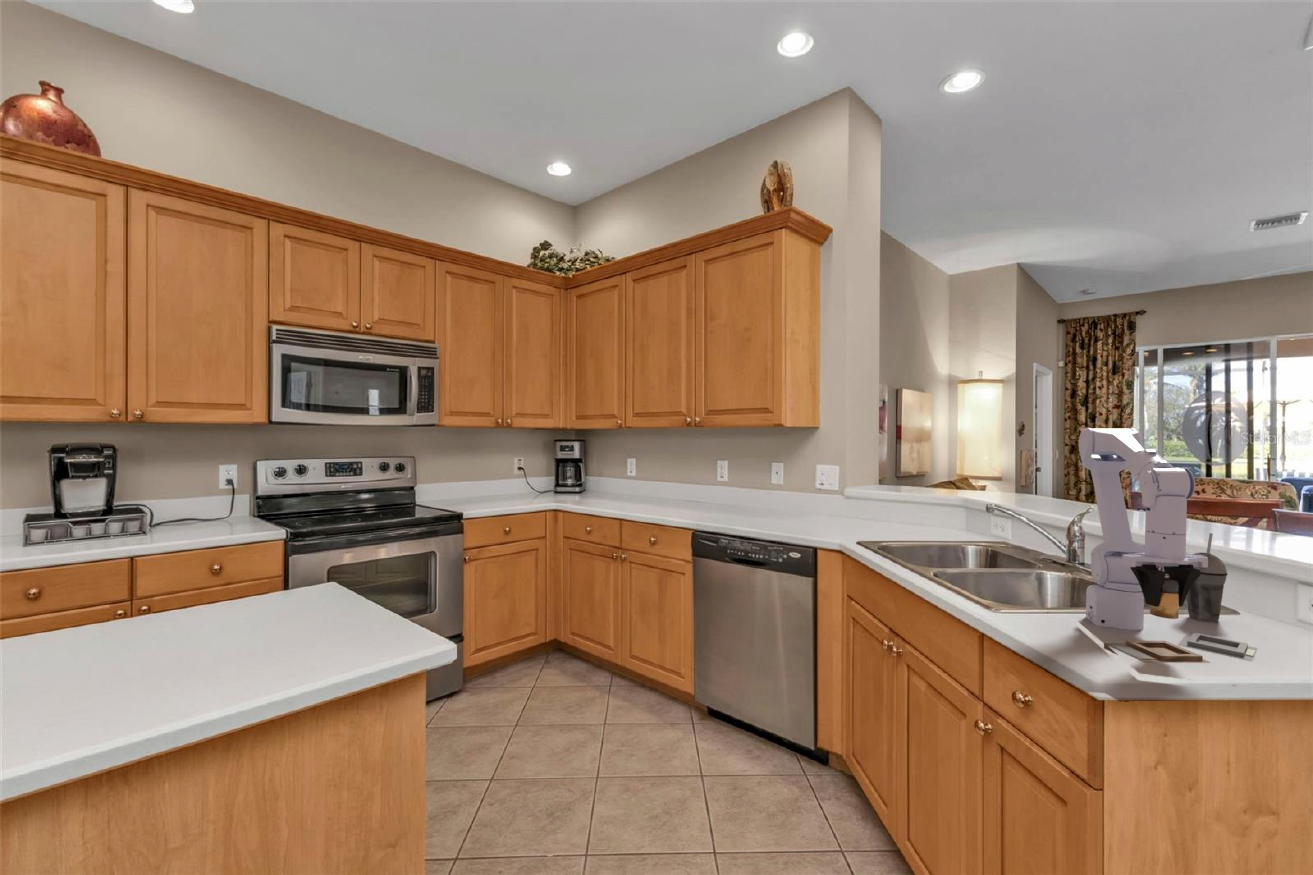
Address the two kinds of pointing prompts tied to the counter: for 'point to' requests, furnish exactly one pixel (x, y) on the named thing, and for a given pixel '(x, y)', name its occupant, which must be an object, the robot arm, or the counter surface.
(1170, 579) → the cell
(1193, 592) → the beverage cup
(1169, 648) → the trough board
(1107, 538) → the robot arm
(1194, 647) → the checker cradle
